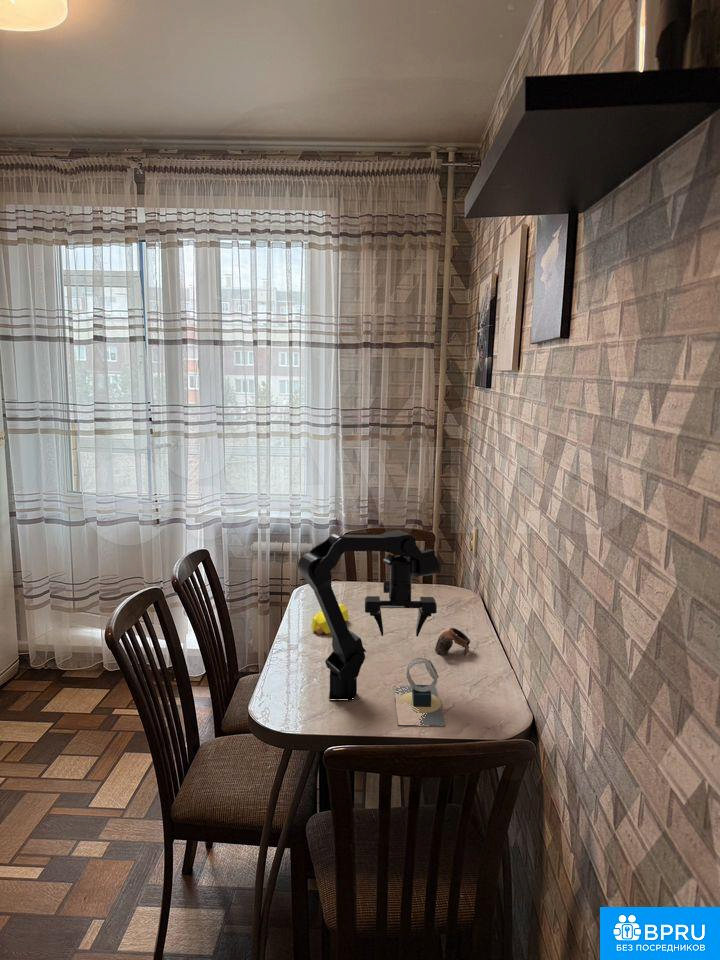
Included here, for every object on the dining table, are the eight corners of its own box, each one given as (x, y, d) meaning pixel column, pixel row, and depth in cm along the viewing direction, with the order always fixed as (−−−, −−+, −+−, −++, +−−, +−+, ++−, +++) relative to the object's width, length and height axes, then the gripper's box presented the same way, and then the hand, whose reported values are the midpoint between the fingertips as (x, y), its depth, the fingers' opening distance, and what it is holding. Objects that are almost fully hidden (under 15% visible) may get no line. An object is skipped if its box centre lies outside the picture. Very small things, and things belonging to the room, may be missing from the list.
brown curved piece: (438, 645, 202) (453, 623, 201) (463, 665, 198) (477, 643, 197) (423, 648, 192) (439, 626, 191) (449, 670, 188) (464, 646, 186)
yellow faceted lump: (352, 620, 222) (332, 616, 225) (352, 601, 221) (332, 598, 224) (328, 638, 206) (307, 634, 209) (328, 618, 205) (307, 614, 208)
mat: (398, 725, 153) (398, 724, 153) (393, 686, 173) (393, 685, 173) (447, 726, 153) (447, 724, 153) (437, 687, 173) (437, 685, 173)
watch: (438, 707, 162) (440, 664, 160) (406, 706, 162) (407, 664, 160) (436, 696, 167) (437, 655, 166) (405, 695, 167) (406, 655, 166)
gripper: (432, 570, 180) (431, 625, 182) (365, 569, 180) (364, 624, 182) (437, 582, 169) (436, 640, 171) (365, 582, 169) (364, 639, 171)
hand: (399, 635), depth 174 cm, fingers open, 9 cm apart
